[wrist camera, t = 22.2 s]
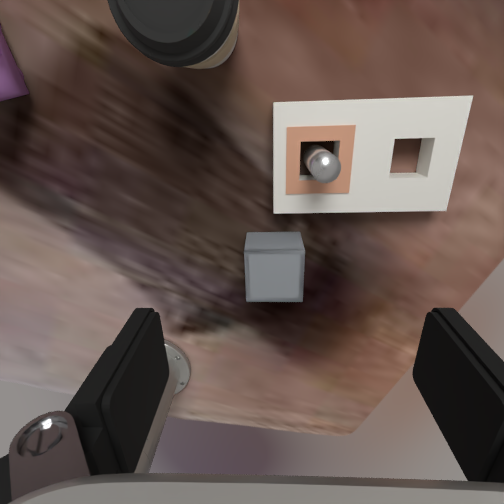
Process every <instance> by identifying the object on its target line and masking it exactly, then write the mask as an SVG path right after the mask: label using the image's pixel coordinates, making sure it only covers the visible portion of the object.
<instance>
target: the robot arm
mask: <svg viewBox="0 0 504 504" xmlns="http://www.w3.org/2000/svg"><path fill="white" fill-rule="evenodd" d="M190 372H191V368H190V363H189V360H188V358H187V357H186V355H185V354H184V352H183V351H182V350H181V349H180V348H178V347H177V346H176V345H174V344H173V343H171V342H169V341H167V340H164V337H163V331H162V326H161V320H160V315H159V313H158V312H155V311H154V309H153V308H136V309H135V310H134V311H133V313H132V315H131V316H130V318H129V319H128V321H127V322H126V324H125V325H124V327H123V328H122V330H121V331H120V333H119V334H118V336H117V337H116V339H115V341H114V342H113V344H112V345H110V346H108V347H107V348H106V350H105V351H104V352H103V354H102V355H101V357H100V358H99V360H98V361H97V363H96V364H95V366H94V367H93V369H92V370H91V372H90V373H89V375H88V376H87V378H86V379H85V381H84V382H83V384H82V385H81V387H80V388H79V390H78V391H77V393H76V394H75V396H74V397H73V399H72V400H71V402H70V403H69V405H68V406H67V408H66V409H65V411H54V412H48V413H46V414H43V415H40V416H38V417H37V418H35V419H33V420H32V421H30V422H29V423H28V424H26V425H25V426H24V427H23V428H21V430H20V431H19V432H18V433H17V434H16V436H15V437H14V438H13V440H12V442H11V444H10V448H9V454H7V455H6V456H4V457H2V458H0V504H504V362H503V360H502V359H501V358H500V357H499V356H498V355H497V354H496V353H495V352H494V351H493V350H492V349H491V348H490V346H488V345H487V343H486V342H485V341H484V340H483V339H482V338H481V337H480V336H479V335H478V334H477V333H476V331H475V330H474V329H473V328H472V327H471V326H470V325H469V324H468V323H467V322H466V321H465V320H464V319H463V317H461V315H460V314H459V313H458V312H457V311H456V310H455V309H454V308H433V309H432V311H431V312H428V313H427V315H426V318H425V322H424V326H423V330H422V334H421V339H420V343H419V347H418V351H417V355H416V359H415V363H414V367H413V379H414V382H415V384H416V386H417V387H418V389H419V391H420V393H421V395H422V397H423V398H424V400H425V402H426V404H427V406H428V408H429V409H430V411H431V413H432V415H433V417H434V419H435V421H436V423H437V424H438V426H439V428H440V430H441V432H442V434H443V436H444V438H445V439H446V441H447V443H448V445H449V447H450V449H451V450H452V452H453V454H454V456H455V458H456V460H457V462H458V463H459V465H460V467H461V469H462V471H463V473H464V475H465V476H466V478H467V480H468V481H451V480H418V479H389V478H355V477H318V476H279V475H235V474H234V475H233V474H232V475H231V474H230V475H229V474H185V473H149V470H150V467H151V464H152V461H153V458H154V455H155V452H156V449H157V446H158V443H159V439H160V436H161V433H162V430H163V427H164V424H165V421H166V418H167V415H168V412H169V409H170V405H171V402H172V399H173V396H174V394H176V393H178V392H180V391H181V390H182V389H183V388H184V387H185V386H186V384H187V383H188V381H189V377H190Z"/></svg>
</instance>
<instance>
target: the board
mask: <svg viewBox="0 0 504 504" xmlns="http://www.w3.org/2000/svg"><path fill="white" fill-rule="evenodd" d="M472 99H473V96H449V97H419V98H390V99H361V100H331V101H302V102H273V211H274V214H280V213H343V212H405V211H446V209H447V205H448V201H449V197H450V192H451V188H452V184H453V180H454V175H455V171H456V167H457V163H458V158H459V154H460V150H461V146H462V141H463V137H464V133H465V129H466V124H467V120H468V116H469V112H470V107H471V103H472ZM405 138H422V141H421V147H420V152H419V157H418V163H417V168H416V173H390V167H391V161H392V154H393V147H394V141H395V139H405ZM304 141H334V148H333V155H335V156H336V157H337V158H338V159H339V161H340V163H341V171H340V174H339V176H338V177H337V178H336V179H335V180H334V181H332V182H330V183H320V182H318V181H317V180H316V179H315V178H314V177H313V175H300V145H301V142H304Z"/></svg>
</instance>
